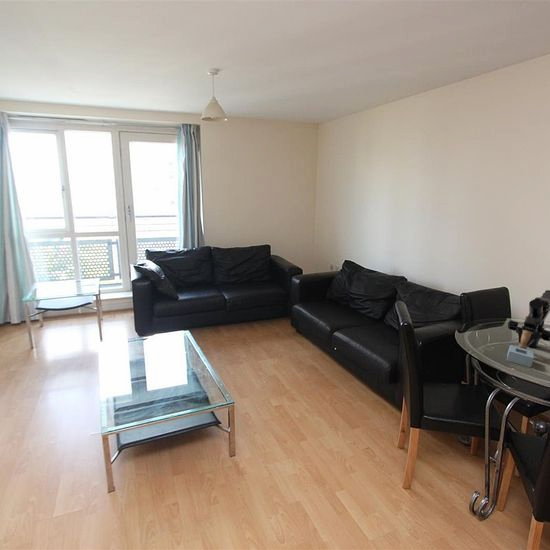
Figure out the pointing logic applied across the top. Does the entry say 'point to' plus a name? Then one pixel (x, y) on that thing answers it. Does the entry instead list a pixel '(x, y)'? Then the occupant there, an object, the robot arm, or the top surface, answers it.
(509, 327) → the robot arm
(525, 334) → the walnut peg
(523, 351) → the hole block
